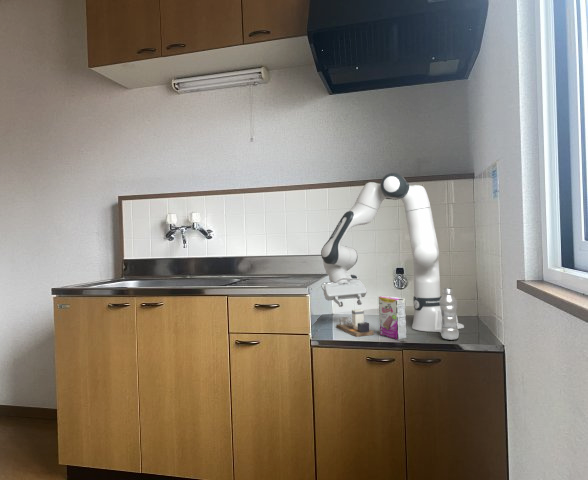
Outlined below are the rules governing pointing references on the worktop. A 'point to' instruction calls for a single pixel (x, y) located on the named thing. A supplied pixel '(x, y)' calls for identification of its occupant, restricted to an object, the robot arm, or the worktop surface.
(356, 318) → the grey-banded white pillar
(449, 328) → the plastic bottle
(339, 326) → the rail board
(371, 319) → the worktop surface
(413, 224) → the robot arm
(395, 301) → the candy bar box
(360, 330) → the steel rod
